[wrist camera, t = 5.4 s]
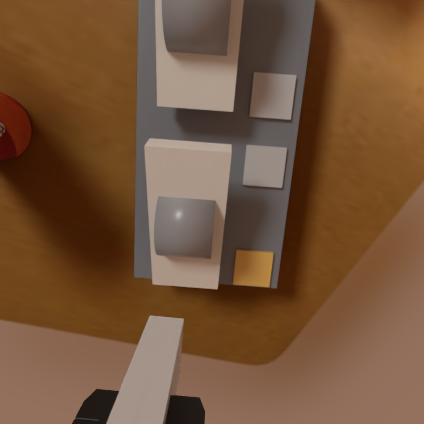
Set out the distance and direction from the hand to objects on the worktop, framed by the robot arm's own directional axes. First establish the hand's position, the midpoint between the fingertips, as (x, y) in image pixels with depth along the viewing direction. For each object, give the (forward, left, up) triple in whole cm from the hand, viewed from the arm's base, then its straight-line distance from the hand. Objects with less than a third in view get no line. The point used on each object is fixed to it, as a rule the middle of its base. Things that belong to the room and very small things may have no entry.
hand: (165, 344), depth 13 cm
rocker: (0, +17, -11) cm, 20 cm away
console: (+1, +10, -16) cm, 19 cm away
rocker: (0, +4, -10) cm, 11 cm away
